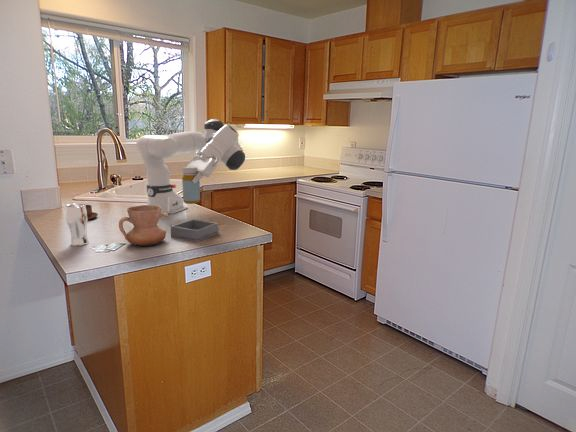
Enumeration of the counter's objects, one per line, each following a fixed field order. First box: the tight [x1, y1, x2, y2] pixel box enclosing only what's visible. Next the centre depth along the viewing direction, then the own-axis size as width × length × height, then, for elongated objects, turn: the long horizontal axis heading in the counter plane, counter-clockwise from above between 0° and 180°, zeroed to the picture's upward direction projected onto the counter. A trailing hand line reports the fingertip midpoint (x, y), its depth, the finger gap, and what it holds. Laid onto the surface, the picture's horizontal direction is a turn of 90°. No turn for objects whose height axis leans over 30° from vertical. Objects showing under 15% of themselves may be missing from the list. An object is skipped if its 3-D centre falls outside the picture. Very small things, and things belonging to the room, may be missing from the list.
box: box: [170, 218, 219, 243], centre depth 160 cm, size 14×14×4 cm
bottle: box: [181, 166, 201, 205], centre depth 162 cm, size 7×7×15 cm
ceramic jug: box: [118, 204, 169, 247], centre depth 148 cm, size 18×14×14 cm
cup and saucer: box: [85, 204, 98, 221], centre depth 184 cm, size 12×12×6 cm
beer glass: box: [65, 203, 90, 247], centre depth 146 cm, size 7×7×15 cm
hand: (189, 180), depth 161 cm, fingers closed on bottle, 7 cm apart
